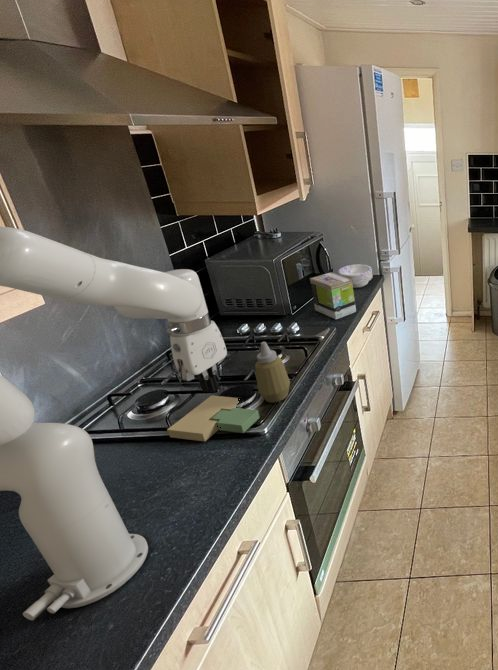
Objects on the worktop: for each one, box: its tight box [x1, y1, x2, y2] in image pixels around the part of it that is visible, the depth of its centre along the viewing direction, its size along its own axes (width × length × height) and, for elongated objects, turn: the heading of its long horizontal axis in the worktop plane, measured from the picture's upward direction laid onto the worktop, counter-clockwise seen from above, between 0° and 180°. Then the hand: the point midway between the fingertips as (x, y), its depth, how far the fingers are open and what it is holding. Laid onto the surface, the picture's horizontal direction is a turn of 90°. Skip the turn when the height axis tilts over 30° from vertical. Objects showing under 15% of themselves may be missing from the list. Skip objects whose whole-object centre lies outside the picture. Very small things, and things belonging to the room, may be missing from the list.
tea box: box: [309, 271, 357, 320], centre depth 170 cm, size 15×10×15 cm, turn 54°
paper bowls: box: [337, 263, 374, 289], centre depth 199 cm, size 15×15×8 cm
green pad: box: [212, 408, 261, 434], centre depth 109 cm, size 6×10×2 cm, turn 82°
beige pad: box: [166, 395, 244, 442], centre depth 110 cm, size 14×10×2 cm
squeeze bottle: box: [254, 341, 291, 404], centre depth 117 cm, size 8×8×18 cm
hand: (210, 390), depth 102 cm, fingers closed
